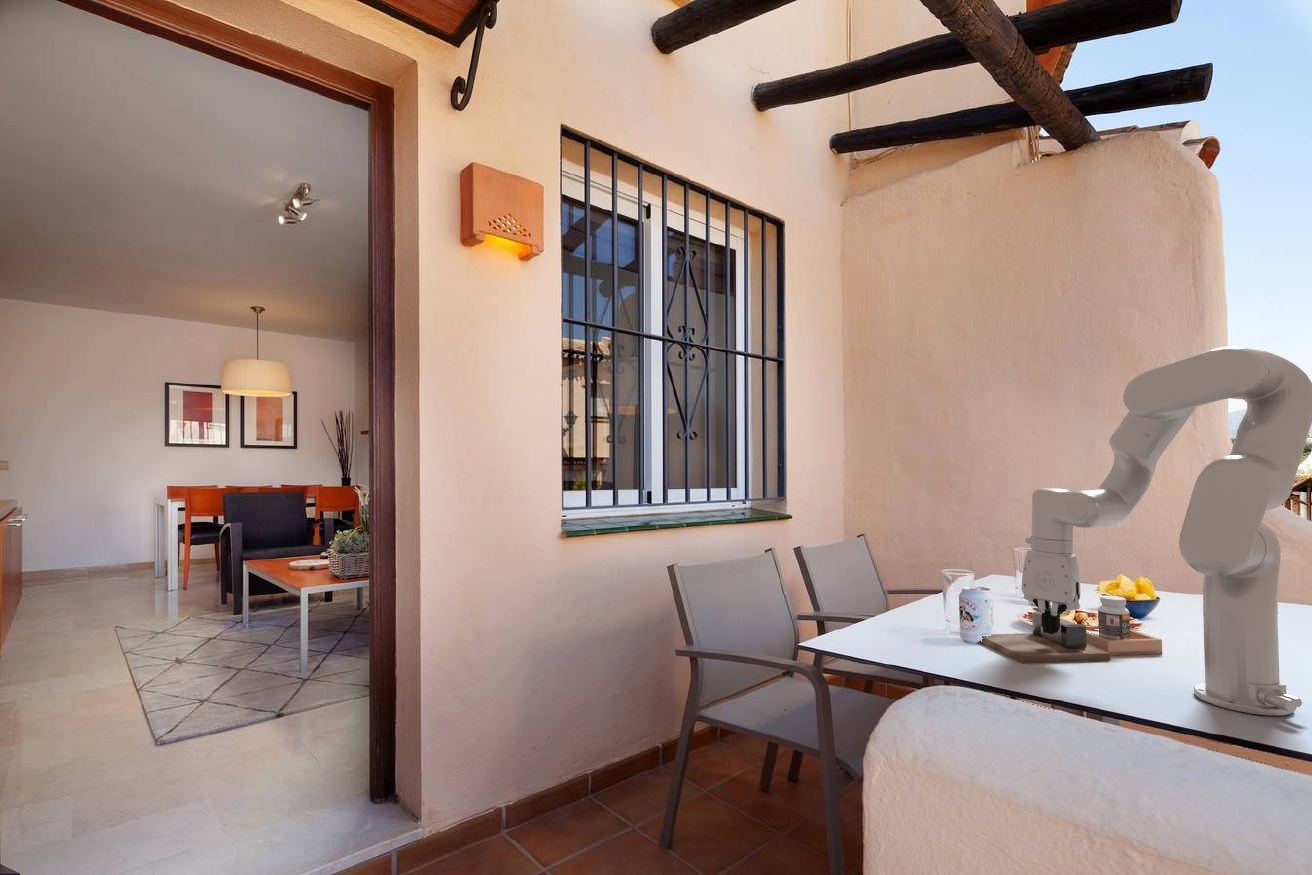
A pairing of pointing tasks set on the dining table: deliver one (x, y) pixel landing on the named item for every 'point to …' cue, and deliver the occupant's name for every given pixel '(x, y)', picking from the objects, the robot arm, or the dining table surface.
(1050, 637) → the grey block
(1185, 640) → the dining table surface
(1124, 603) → the pill bottle
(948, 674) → the dining table surface
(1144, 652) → the tray
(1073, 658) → the cutting board
